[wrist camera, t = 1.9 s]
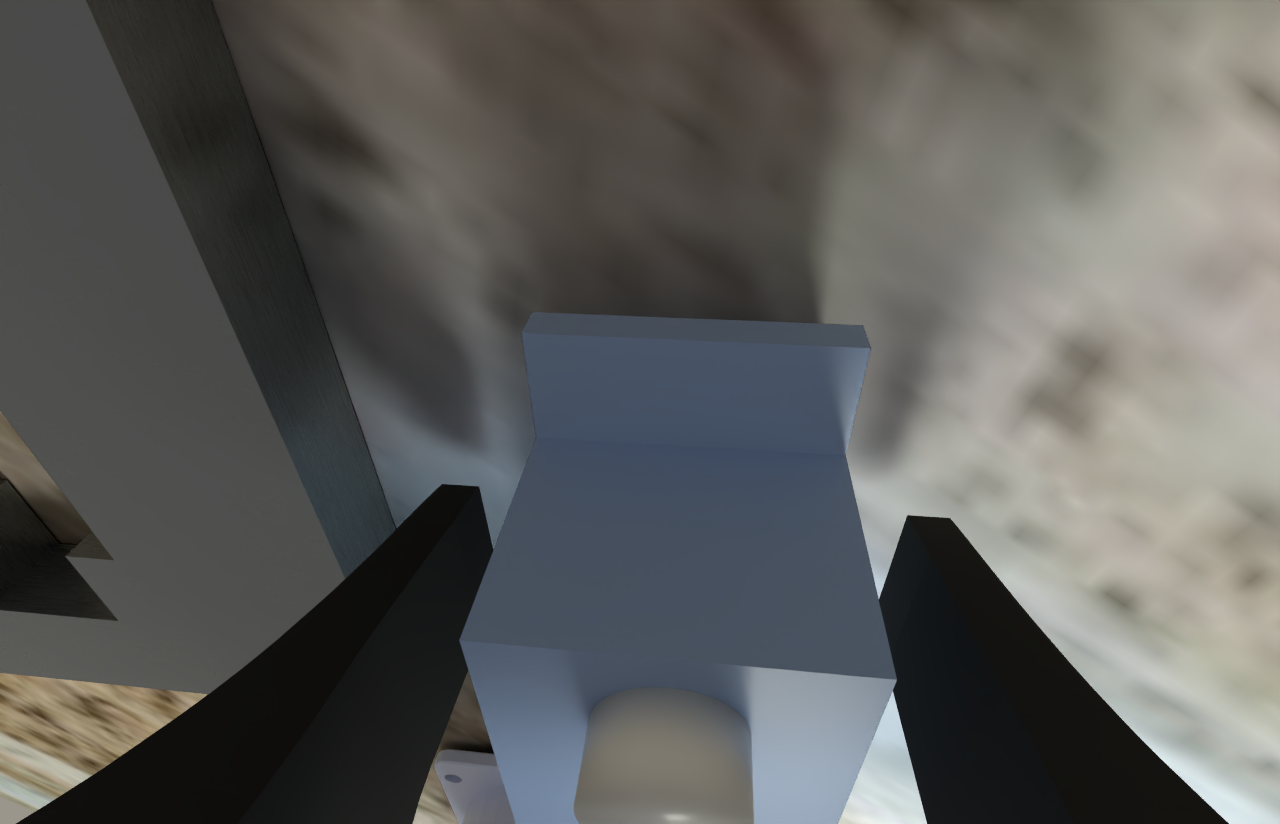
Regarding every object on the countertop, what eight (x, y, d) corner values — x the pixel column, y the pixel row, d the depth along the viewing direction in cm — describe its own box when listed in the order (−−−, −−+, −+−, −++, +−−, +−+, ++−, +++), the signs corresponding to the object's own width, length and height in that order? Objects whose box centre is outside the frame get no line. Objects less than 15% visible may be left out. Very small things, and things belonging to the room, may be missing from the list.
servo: (769, 635, 14) (792, 1016, 9) (598, 620, 14) (531, 979, 9) (838, 254, 9) (983, 665, 4) (566, 246, 9) (376, 611, 4)
